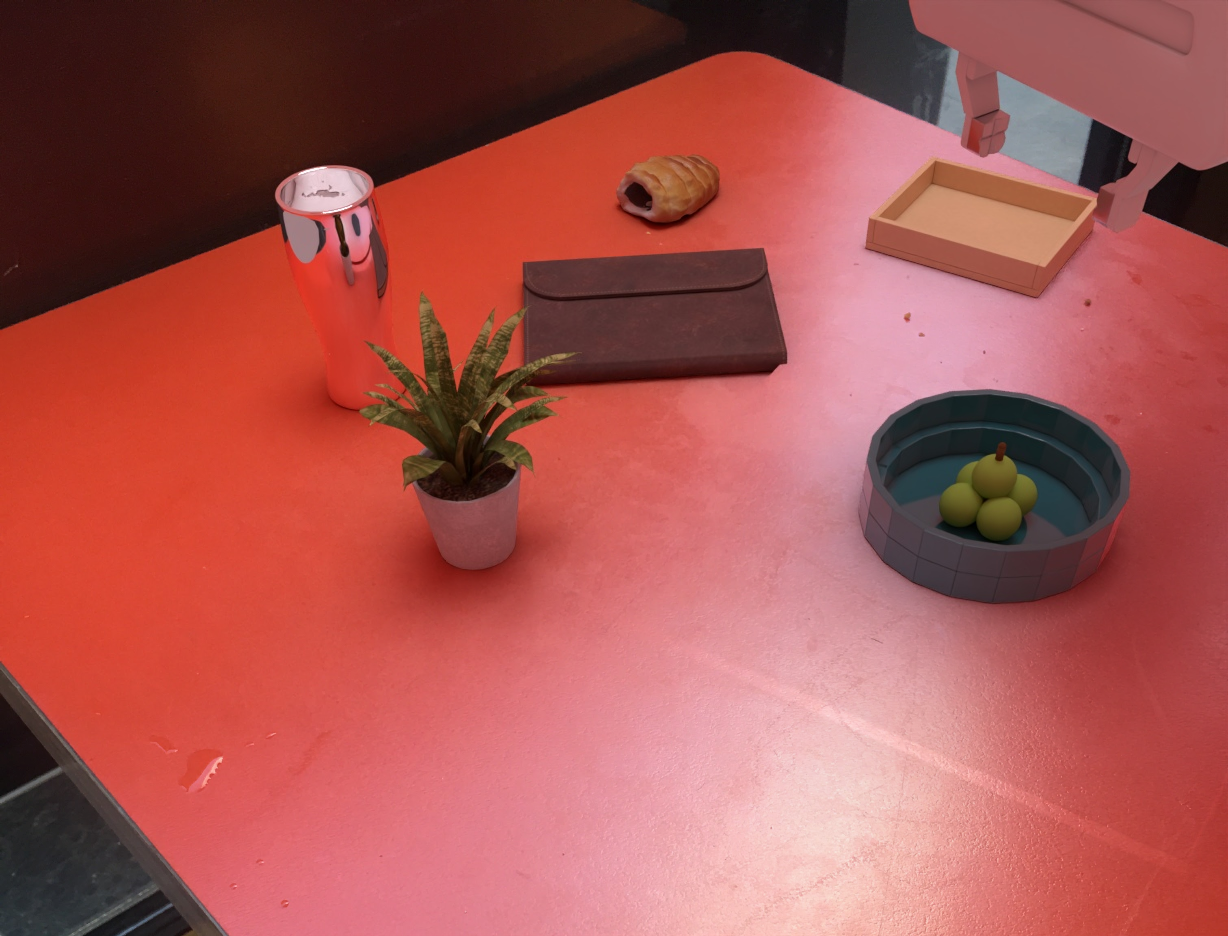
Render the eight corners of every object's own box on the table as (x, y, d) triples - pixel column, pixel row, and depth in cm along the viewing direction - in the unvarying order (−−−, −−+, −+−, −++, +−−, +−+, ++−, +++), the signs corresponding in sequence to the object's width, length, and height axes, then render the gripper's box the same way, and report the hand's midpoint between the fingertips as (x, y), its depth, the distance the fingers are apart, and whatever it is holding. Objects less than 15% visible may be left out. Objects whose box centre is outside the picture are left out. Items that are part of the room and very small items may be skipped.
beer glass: (364, 350, 97) (322, 154, 85) (432, 378, 94) (398, 180, 82) (303, 395, 93) (249, 197, 81) (371, 425, 91) (326, 225, 79)
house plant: (532, 654, 76) (505, 430, 63) (335, 605, 79) (270, 383, 66) (612, 511, 84) (602, 286, 71) (429, 472, 87) (388, 249, 74)
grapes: (1038, 508, 81) (1061, 433, 77) (1005, 555, 79) (1027, 481, 74) (962, 481, 83) (980, 407, 79) (928, 526, 81) (944, 452, 76)
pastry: (686, 169, 112) (686, 126, 109) (739, 195, 109) (741, 151, 106) (610, 207, 109) (608, 163, 106) (662, 235, 106) (663, 190, 103)
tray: (1092, 229, 104) (1101, 199, 102) (1037, 298, 98) (1045, 266, 96) (927, 185, 109) (932, 155, 107) (864, 248, 103) (868, 217, 101)
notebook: (786, 372, 93) (788, 348, 91) (526, 388, 93) (523, 364, 91) (761, 267, 102) (763, 244, 100) (524, 281, 102) (522, 258, 100)
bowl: (1142, 500, 83) (1167, 437, 79) (1051, 647, 75) (1072, 585, 71) (921, 425, 88) (933, 363, 84) (815, 554, 81) (823, 492, 77)
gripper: (1390, -96, 47) (1251, 253, 58) (1014, -218, 58) (957, 97, 69) (1277, -58, 45) (1156, 296, 56) (910, -191, 56) (869, 129, 67)
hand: (1044, 185), depth 62 cm, fingers open, 8 cm apart
